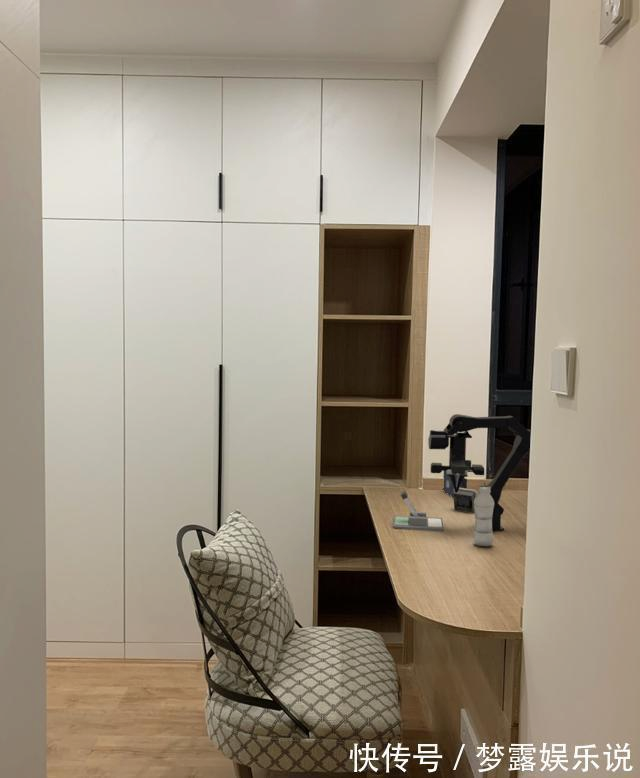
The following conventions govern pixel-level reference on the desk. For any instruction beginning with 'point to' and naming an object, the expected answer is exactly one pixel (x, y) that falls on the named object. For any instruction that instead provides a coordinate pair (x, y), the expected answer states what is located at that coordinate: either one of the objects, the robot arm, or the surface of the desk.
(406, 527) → the switch plate
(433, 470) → the robot arm
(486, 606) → the desk surface
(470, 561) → the desk surface
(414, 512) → the lever
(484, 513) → the plastic bottle
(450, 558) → the desk surface
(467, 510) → the electrical switch
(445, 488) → the vhs cassette tape
